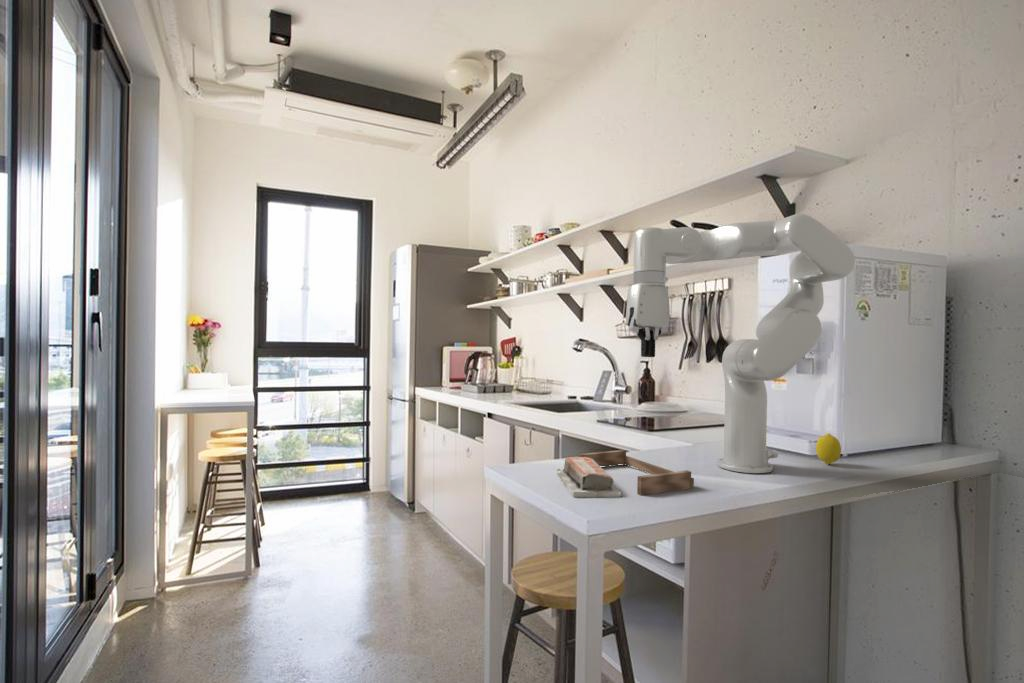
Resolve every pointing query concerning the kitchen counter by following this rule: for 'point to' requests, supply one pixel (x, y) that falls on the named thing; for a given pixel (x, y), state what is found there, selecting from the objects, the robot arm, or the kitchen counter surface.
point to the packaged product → (586, 478)
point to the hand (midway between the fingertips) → (647, 356)
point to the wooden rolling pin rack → (649, 483)
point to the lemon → (828, 449)
